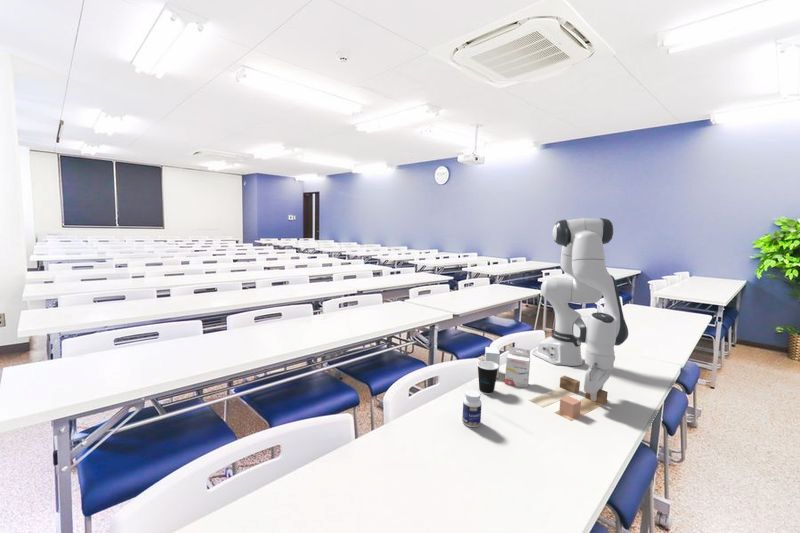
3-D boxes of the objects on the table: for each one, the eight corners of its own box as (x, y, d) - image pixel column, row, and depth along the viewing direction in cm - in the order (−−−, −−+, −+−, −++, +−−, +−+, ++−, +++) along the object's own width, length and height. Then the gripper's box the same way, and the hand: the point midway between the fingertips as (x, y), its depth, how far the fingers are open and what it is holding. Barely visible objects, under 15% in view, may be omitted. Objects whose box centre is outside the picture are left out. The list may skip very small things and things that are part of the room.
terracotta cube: (559, 412, 120) (560, 399, 120) (567, 408, 123) (568, 395, 122) (572, 418, 116) (573, 404, 116) (579, 414, 119) (580, 401, 118)
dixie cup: (493, 388, 140) (495, 360, 139) (500, 397, 132) (501, 369, 131) (473, 388, 140) (474, 360, 139) (478, 397, 132) (480, 368, 131)
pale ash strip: (528, 402, 128) (529, 389, 127) (564, 387, 140) (564, 375, 140) (543, 409, 123) (544, 396, 122) (578, 393, 135) (579, 381, 135)
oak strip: (553, 414, 120) (554, 401, 119) (589, 397, 132) (590, 385, 131) (571, 423, 115) (572, 408, 114) (606, 404, 127) (607, 391, 127)
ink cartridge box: (504, 385, 142) (506, 349, 141) (506, 380, 147) (508, 345, 145) (527, 390, 139) (529, 353, 137) (528, 385, 143) (530, 349, 142)
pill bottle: (469, 429, 111) (471, 399, 110) (458, 420, 116) (459, 391, 115) (484, 425, 114) (485, 395, 113) (472, 416, 119) (474, 387, 118)
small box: (498, 378, 149) (500, 353, 148) (484, 377, 150) (486, 352, 149) (497, 370, 157) (498, 347, 156) (484, 369, 158) (485, 346, 157)
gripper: (601, 370, 117) (597, 411, 119) (616, 354, 132) (613, 390, 134) (580, 365, 121) (577, 404, 123) (597, 350, 136) (594, 385, 138)
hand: (596, 397), depth 129 cm, fingers open, 4 cm apart
